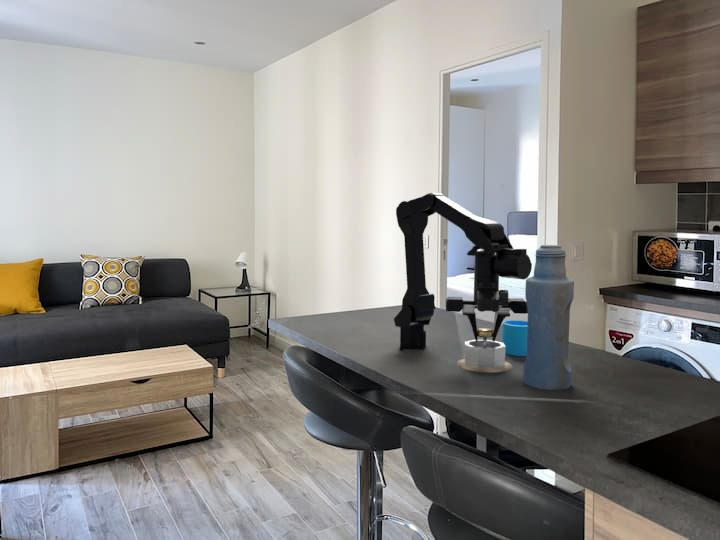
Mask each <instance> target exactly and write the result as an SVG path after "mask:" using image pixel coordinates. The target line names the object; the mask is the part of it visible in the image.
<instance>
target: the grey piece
mask: <svg viewBox="0 0 720 540" xmlns="http://www.w3.org/2000/svg"><path fill="white" fill-rule="evenodd" d="M463 359H464V363H465V366H467V367H471V368H474V369H478V370H497V369H501V368H505V362H506V354H505V345H504V343H502V341H496V340H495V341H492V339H487V344H486V348H483V338H479V339H477V341H476V340H475V339H472V340H467V341H466V340H465V341H464V357H463Z"/></svg>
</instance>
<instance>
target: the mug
mask: <svg viewBox="0 0 720 540" xmlns="http://www.w3.org/2000/svg"><path fill="white" fill-rule="evenodd" d="M527 325H528V320H517V319H515V320H503V322H502V324H501V326H502V327H501V328H502V331H501V335H502V336H501V342H502V343H504V345H505V355H510V356H516V357H527Z"/></svg>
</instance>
